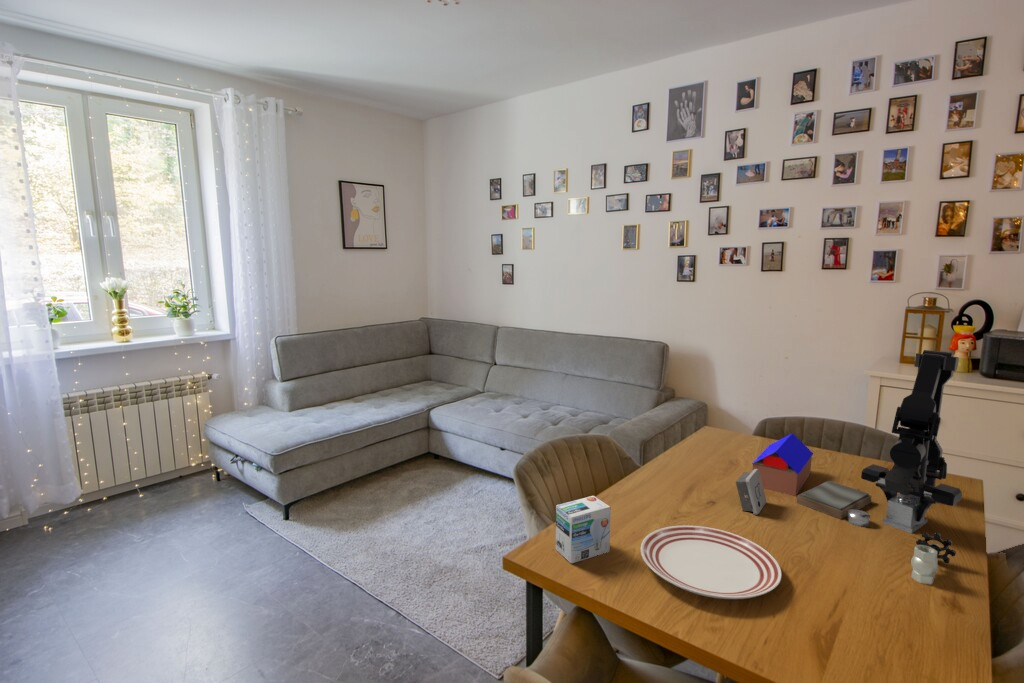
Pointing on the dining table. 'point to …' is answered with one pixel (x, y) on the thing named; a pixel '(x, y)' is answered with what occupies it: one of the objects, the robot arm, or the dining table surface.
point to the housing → (904, 513)
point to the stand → (834, 499)
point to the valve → (929, 557)
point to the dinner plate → (710, 562)
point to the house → (784, 465)
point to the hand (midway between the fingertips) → (905, 516)
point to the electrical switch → (751, 491)
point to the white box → (582, 528)
